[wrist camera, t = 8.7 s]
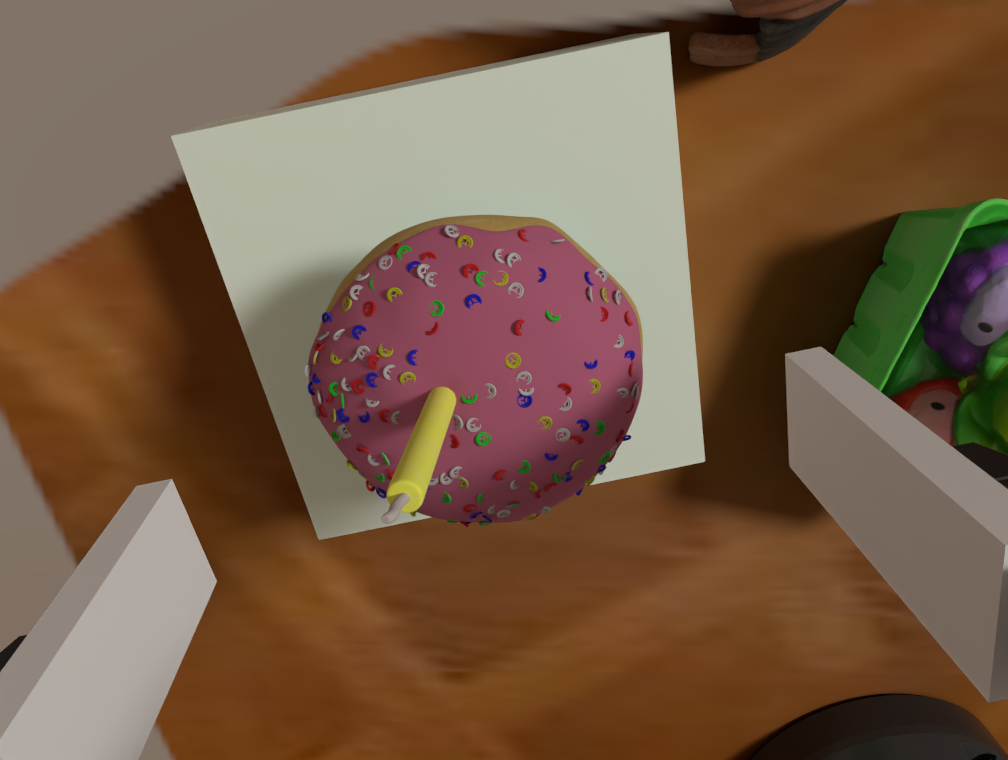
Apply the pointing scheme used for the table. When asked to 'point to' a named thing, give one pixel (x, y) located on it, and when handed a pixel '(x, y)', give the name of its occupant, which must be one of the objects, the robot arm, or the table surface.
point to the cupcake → (477, 368)
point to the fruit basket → (940, 322)
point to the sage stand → (447, 193)
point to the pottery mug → (784, 22)
